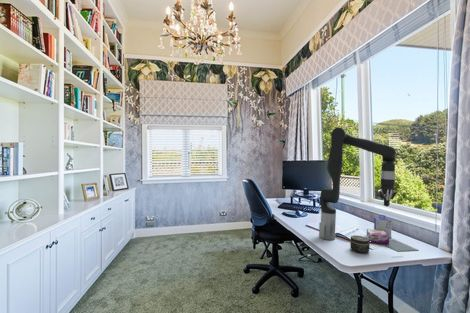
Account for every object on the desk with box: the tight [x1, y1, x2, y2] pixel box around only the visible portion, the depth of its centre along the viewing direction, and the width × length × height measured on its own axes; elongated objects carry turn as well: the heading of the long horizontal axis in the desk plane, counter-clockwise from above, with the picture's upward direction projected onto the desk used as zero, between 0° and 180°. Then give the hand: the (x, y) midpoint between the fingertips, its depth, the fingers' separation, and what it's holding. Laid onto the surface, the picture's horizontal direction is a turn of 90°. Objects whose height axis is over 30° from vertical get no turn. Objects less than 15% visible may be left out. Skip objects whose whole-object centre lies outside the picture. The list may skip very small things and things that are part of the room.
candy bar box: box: [366, 228, 390, 244], centre depth 156 cm, size 11×5×16 cm
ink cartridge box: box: [373, 214, 393, 239], centre depth 165 cm, size 10×6×14 cm, turn 76°
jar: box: [349, 234, 371, 255], centre depth 136 cm, size 10×10×8 cm
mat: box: [383, 238, 419, 253], centre depth 148 cm, size 15×18×1 cm
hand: (386, 206), depth 146 cm, fingers closed
